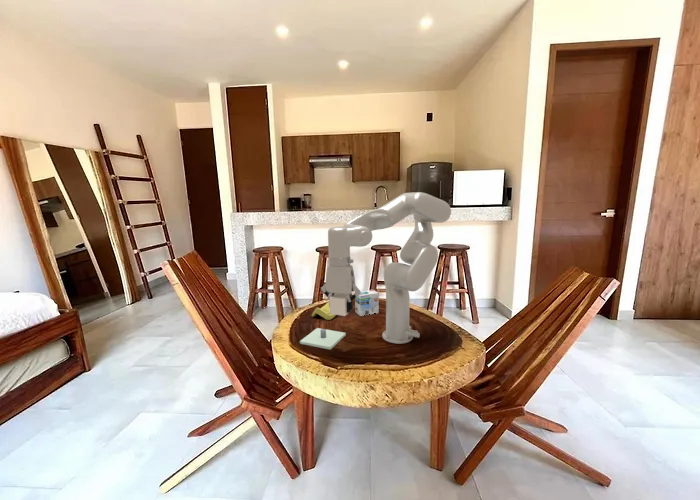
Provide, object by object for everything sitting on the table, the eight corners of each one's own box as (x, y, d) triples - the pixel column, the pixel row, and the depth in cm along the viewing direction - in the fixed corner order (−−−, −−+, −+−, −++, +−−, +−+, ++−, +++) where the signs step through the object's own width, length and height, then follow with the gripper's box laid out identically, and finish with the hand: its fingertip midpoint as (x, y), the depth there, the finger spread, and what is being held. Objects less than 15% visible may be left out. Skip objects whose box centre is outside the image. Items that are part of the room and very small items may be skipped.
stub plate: (345, 335, 130) (345, 326, 130) (330, 349, 118) (330, 340, 117) (317, 330, 136) (317, 321, 135) (299, 343, 123) (299, 334, 123)
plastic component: (331, 316, 145) (314, 305, 148) (326, 328, 148) (309, 317, 151) (349, 301, 162) (333, 291, 165) (344, 312, 165) (329, 302, 168)
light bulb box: (360, 316, 151) (360, 295, 149) (354, 312, 157) (354, 292, 155) (379, 313, 155) (379, 292, 153) (373, 308, 161) (373, 289, 159)
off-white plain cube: (351, 310, 113) (351, 294, 112) (345, 316, 107) (344, 299, 106) (337, 308, 115) (336, 293, 114) (329, 313, 110) (329, 297, 109)
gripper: (366, 261, 108) (366, 309, 111) (323, 258, 115) (324, 304, 118) (358, 265, 101) (359, 317, 104) (313, 262, 108) (315, 311, 111)
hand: (340, 309), depth 111 cm, fingers closed on off-white plain cube, 6 cm apart
